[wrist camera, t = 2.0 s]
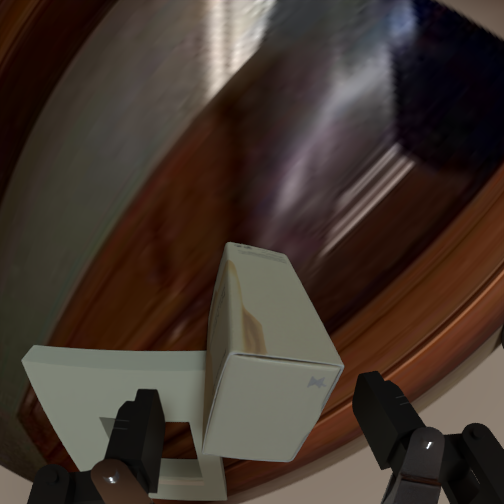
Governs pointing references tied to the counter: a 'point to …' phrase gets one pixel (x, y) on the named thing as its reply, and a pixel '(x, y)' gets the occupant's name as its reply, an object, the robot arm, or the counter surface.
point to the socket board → (114, 396)
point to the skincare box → (263, 359)
